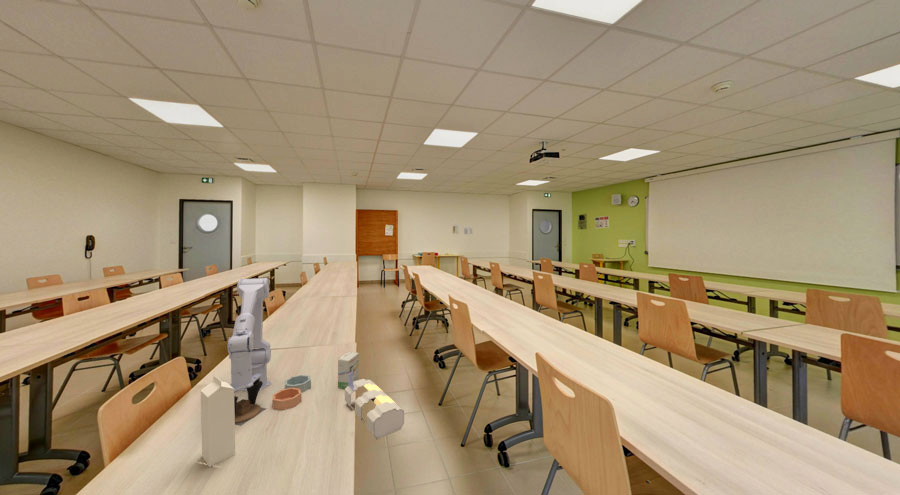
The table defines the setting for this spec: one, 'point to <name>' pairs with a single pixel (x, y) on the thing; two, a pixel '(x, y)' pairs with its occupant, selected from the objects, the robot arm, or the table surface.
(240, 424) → the mat
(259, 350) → the robot arm
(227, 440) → the milk
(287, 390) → the bowl terracotta
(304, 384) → the bowl slate
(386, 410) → the beige chunky openwork piece
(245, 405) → the lid
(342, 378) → the ink box
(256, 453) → the table surface
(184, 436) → the table surface
